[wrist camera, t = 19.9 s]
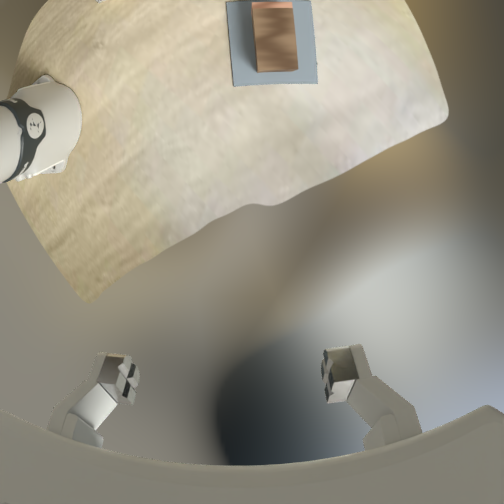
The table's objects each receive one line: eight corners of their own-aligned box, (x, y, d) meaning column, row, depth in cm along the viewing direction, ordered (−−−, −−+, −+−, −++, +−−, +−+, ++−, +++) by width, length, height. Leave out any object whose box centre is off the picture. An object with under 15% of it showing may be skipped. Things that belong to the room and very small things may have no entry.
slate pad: (234, 86, 34) (233, 86, 34) (226, 3, 27) (226, 2, 26) (317, 83, 34) (317, 83, 34) (310, 1, 26) (310, 0, 26)
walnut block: (258, 70, 29) (251, 2, 23) (256, 72, 33) (251, 12, 27) (298, 69, 29) (292, 1, 23) (292, 71, 33) (286, 11, 27)
